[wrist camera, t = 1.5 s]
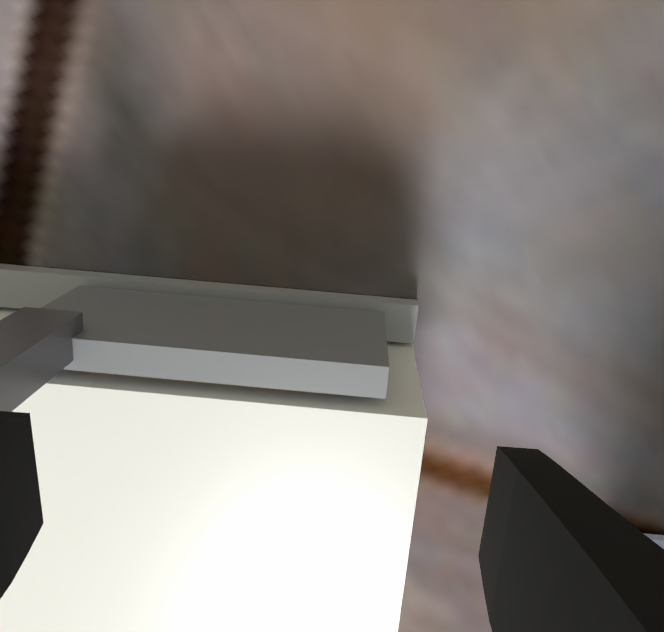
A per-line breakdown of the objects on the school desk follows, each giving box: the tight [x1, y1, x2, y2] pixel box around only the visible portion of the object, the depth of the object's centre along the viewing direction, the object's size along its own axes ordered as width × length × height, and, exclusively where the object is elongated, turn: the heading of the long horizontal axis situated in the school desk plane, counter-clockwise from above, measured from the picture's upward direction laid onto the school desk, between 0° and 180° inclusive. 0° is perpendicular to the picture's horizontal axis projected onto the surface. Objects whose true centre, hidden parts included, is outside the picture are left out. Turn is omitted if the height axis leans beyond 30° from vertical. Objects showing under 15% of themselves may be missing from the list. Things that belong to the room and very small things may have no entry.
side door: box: [0, 286, 389, 412], centre depth 14 cm, size 9×1×7 cm, turn 86°
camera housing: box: [0, 264, 428, 632], centre depth 17 cm, size 20×9×5 cm, turn 86°
